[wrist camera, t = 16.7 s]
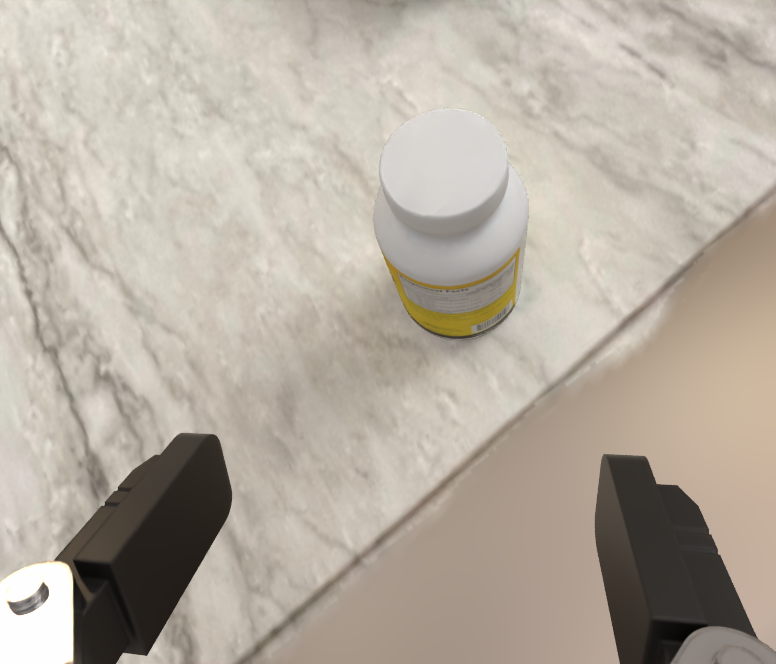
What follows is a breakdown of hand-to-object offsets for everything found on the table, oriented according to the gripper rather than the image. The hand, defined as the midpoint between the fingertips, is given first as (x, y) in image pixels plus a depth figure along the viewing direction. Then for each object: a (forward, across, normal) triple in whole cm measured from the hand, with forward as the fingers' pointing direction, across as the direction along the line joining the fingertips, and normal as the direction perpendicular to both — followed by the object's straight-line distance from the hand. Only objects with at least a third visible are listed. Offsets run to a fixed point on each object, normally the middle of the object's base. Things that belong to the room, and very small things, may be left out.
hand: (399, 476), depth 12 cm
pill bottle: (+20, 0, +4) cm, 20 cm away
